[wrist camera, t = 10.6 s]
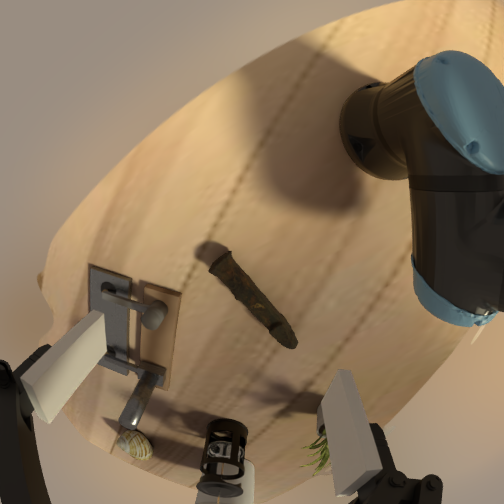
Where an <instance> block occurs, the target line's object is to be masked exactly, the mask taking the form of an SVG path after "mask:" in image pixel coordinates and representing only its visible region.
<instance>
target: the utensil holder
mask: <svg viewBox="0 0 504 504" xmlns="http://www.w3.org/2000/svg"><path fill="white" fill-rule="evenodd" d="M238 462H239V459H238ZM206 465H207V464H204V468H205V469H206ZM244 467H245V474H244V476H243V477H241V478H239V479H235V480H224V481H225V482H228V483H232V484H239V483H242V485H241V488H242V489H243V494H242V495H240V496H238V497H232V498H222V497H220V499H219V504H253V502H254V465H253V464H252V463H251V462H250V461H248V460H246V459H244ZM221 470H222V463H218V467H217V473H216V474H220V475H221ZM238 471H239V467H237V466H234V465H231V464H226V463H224V468H223V475H235V474H238ZM204 475H205V474H204V473H202V476H204ZM202 476H201V477H202ZM217 500H218V497H215V496H211V495H207V494H205V493H202V492H201V491H199V490H198V493H197V498H196V502H195V504H217Z"/></svg>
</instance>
